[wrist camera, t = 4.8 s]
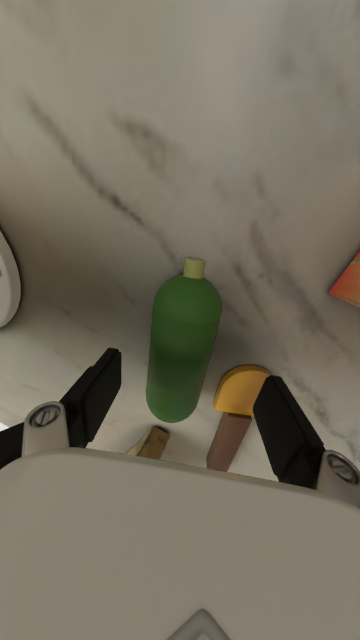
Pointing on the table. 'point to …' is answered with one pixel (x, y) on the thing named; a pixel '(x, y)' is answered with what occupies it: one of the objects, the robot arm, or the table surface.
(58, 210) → the table surface
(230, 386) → the spatula
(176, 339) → the zucchini
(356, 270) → the cracker box
